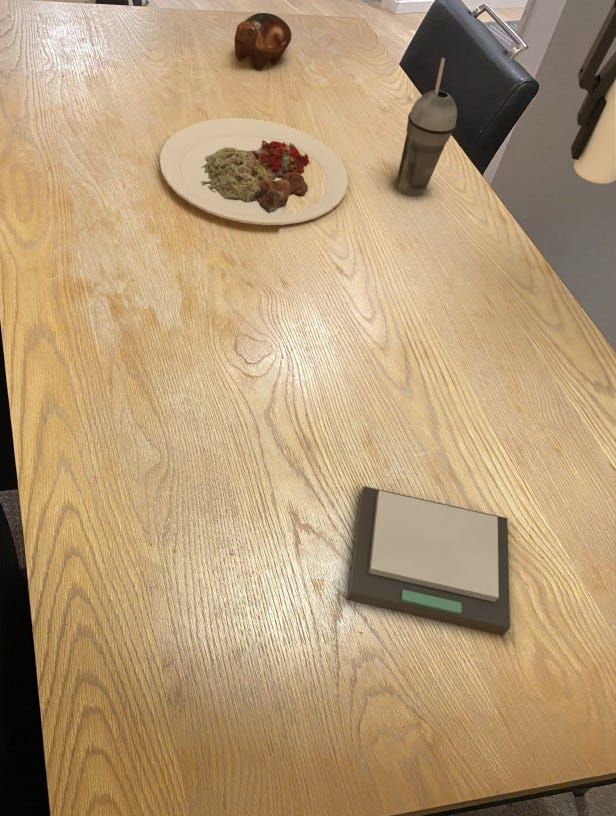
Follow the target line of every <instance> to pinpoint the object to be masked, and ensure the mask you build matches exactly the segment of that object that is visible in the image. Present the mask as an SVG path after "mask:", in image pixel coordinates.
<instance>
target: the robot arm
mask: <svg viewBox="0 0 616 816" xmlns="http://www.w3.org/2000/svg"><path fill="white" fill-rule="evenodd" d="M615 39H616V0H613V3H612V5H611V7H610V9H609V11H608V13H607V15H606V17H605V19H604V21H603V23H602V25H601V26H600V28H599V31H598V33H597V35H596V37H595V39H594V41H593V43H592V44H591V46H590V48H589V51H588V52H587V55H586V57H585V58H584V61H583V62H582V65H581V66H580V69H579V70H578V73H577V79H578V80H577V81H578V87H579V88H580V89H582V90H585V91H587V93H586V95H585V98H584V100H583V101H582V103H581V106H580V108H579V110H578V113H577V115H576V121H577V126H579V127H580V128H579V130H578V132H577V133H576V136H575V138H574V140H573V142H572V144H571V146H570V152H571V159H572V160H579V158H580V156H581V154H582V152H583V150H584V148H585V146H586V144H587V142H588V140H589V138H590V136H591V134H592V132H593V130H594V128H595V126H596V124H597V122H598V120H599V118H600V116H601V114H602V112H603V110H604V108H605V106H606V103H607V102H606V100H605V99H604V97H603V95H604V94H605V92H606V91H607V90H608V89H609V87H610V86H611V85H612V84H613V83H614V81H615V79H616V51H615V52H614V53H613V54H612V55H611V57H610V58H609V59H608V61H606V63H605V64H604V65H603V67H602V68H601V69H600V67H601V66H602V64H603V62H604V60H605V59H606V58H605V57H606V56H607V54H608V52H609V51H610V48H611V47H612V45H613V43H614V40H615ZM599 69H600V70H599Z"/></svg>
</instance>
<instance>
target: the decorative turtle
mask: <svg viewBox="0 0 616 816" xmlns="http://www.w3.org/2000/svg"><path fill="white" fill-rule="evenodd" d="M291 41H292V30H291V28H290V26H289V25H288V23H287V22H286V21H285V20H284V19H282V18H281V17H280V16H278V15H276V14H273V13H269V12H258V13H254V14H252V15H251V16H249V17H247V18H246V19H244V20H243V21H241V22H239V23H238V24H237V27H236V29H235V34H234V55H235V57H236V59H237V60H238V61H240V62H242V61H244V60H246V59H247V58H249V59H250V61H251V62H252V64H253V66H254V67H255V69H256V70H258V71H261V70H263V69H264V68H265V67H266V66H267V64H268V63H269V62H270V63H271V65H275V66H276V65H277V64H278V63H279V62H280V60H281V58H282V56H283V55H284V53H285V51H286V50H287V48H288V47H289V45H290V43H291Z"/></svg>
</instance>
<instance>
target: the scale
mask: <svg viewBox="0 0 616 816" xmlns="http://www.w3.org/2000/svg"><path fill="white" fill-rule="evenodd" d="M356 515H357V516H356V524H355V532H354V541H353V549H352V556H351V565H350V572H349V573H350V574H349V579H348V580H349V581H348V588H347V589H348V590H347V597H346V600H347V601H349V602H354V603H359V604H363V605H368V606H372V607H376V608H380V609H385V610H388V611H394V612H398V613H402V614H406V615H411V616H414V617H415V616H416V617H420V618H424V619H428V620H432V621H437V622H441V623H446V624H450V625H454V626H458V627H463V628H467V629H472V630H476V631H481V632H485V633H488V634H494V635H498V636H501V637H502V636H505V634H507V632H509V630H510V629H511V610H510V609H511V608H510V607H511V606H510V573H509V572H510V571H509V567H510V565H509V527H508V526H509V524H508V523H509V521H508V517H504V516H500V515H495V514H491V513H486V512H482V511H477V510H473V509H469V508H464V507H460V506H455V505H450V504H447V503H441V502H438V501H437V502H436V501H432V500H427V499H424V498H420V497H414V496H411V495H406V494H401V493H398V492H393V491H389V490H388V491H387V490H384V489H379V488H375V487H370V486H366V485H363V487H362V489H361V492H360V493H359V500H358V507H357V514H356Z"/></svg>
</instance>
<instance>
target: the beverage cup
mask: <svg viewBox="0 0 616 816" xmlns="http://www.w3.org/2000/svg"><path fill="white" fill-rule="evenodd" d="M445 62H446V58H445V57H441V59H440V64H439V68H438V74H437V77H436V78H437V79H436V82H435V83H436V84H435V88H434V90H430V91H427V92H426V93H424V94H423V95H421V96H420V97H419V98H417V100H416V101H415V103H414V104H413V106H412V108H411V110H410V112H409V113H408V116H407V123H406V136H405V140H404V145H403V149H402V153H401V159H400V163H399V167H398V172H397V177H396V181H395V182H396V183H395V188H396V190H397V191H398V192H399V193H400V194H402V195H404V196H407V197H413V198H415V197H420V196H423V194H424V193H425V191H426V190H427V188H428V186H429V183H430V181H431V178H432V176H433V174H434V172H435V169H436V167H437V165H438V162H439V160H440V158H441V155H442V153H443V151H444V148H445V147H446V144H447V143H448V141H449V140H450V138H451V136H452V134H453V132H454V131H455V129H456V125H457V119H458V109H457V105H456V102H455V100H454V98H453V97H452V96H451V95H450V94H449V93H448V92H446V91H444V90H441V89H440V85H441V81H442V77H443V72H444V68H445V67H444V66H445Z"/></svg>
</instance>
